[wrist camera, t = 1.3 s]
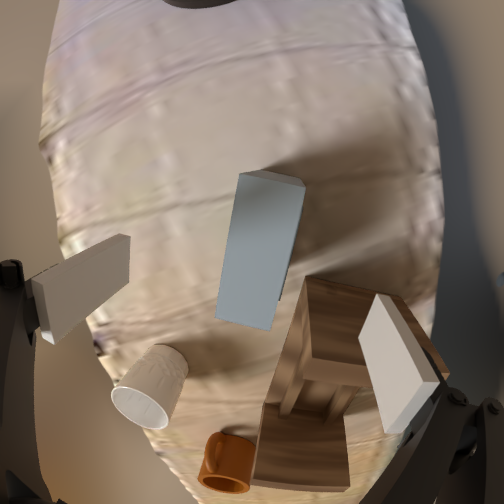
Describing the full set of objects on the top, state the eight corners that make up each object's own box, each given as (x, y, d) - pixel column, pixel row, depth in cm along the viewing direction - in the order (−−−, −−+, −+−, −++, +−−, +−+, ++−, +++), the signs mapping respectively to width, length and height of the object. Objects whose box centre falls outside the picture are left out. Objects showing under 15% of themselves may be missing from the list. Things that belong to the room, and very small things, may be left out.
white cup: (182, 339, 35) (152, 389, 26) (199, 382, 38) (178, 433, 28) (135, 340, 37) (100, 383, 27) (154, 380, 39) (128, 425, 30)
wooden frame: (305, 275, 30) (311, 357, 17) (400, 296, 29) (450, 373, 16) (262, 406, 37) (249, 484, 24) (337, 417, 37) (343, 492, 23)
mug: (249, 424, 39) (242, 469, 31) (259, 457, 43) (254, 495, 35) (198, 422, 41) (184, 463, 32) (214, 455, 44) (205, 491, 36)
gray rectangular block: (260, 169, 28) (239, 173, 16) (302, 178, 27) (310, 188, 16) (242, 261, 31) (214, 317, 19) (280, 270, 31) (273, 332, 19)
